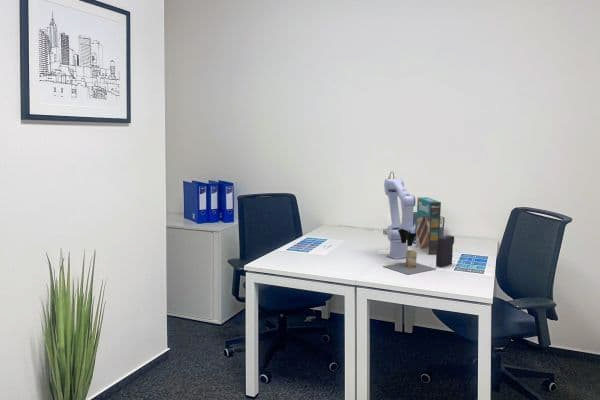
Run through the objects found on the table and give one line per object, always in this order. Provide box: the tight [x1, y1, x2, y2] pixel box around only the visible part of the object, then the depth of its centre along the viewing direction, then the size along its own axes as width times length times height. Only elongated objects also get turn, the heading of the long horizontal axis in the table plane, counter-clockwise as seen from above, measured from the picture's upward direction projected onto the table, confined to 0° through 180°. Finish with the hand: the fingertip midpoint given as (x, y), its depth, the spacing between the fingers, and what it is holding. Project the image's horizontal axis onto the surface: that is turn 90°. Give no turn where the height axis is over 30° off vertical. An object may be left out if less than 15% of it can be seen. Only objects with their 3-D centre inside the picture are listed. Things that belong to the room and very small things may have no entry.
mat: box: [382, 261, 437, 276], centre depth 265 cm, size 20×18×1 cm
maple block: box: [405, 249, 418, 268], centre depth 266 cm, size 4×4×8 cm
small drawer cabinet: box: [435, 234, 455, 268], centre depth 270 cm, size 11×4×15 cm, turn 134°
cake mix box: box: [415, 196, 442, 256], centre depth 303 cm, size 22×6×30 cm, turn 6°
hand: (406, 244), depth 271 cm, fingers open, 7 cm apart
